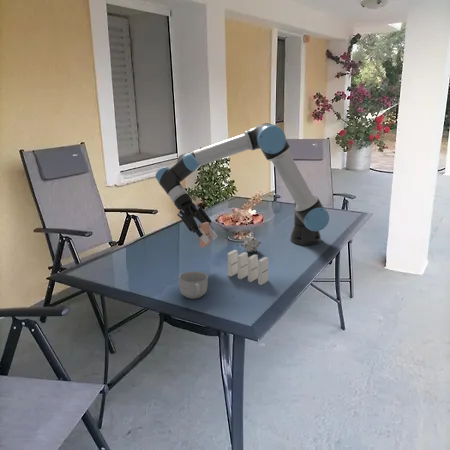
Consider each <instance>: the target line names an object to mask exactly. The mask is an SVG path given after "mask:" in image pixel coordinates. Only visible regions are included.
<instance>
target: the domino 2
mask: <svg viewBox="0 0 450 450" xmlns="http://www.w3.org/2000/svg"><path fill="white" fill-rule="evenodd" d="M238 255H239V252H238V250H237V249H233V250H231V251H229V252H227V275H228V276H229V277H234V275H236V274H237V275H238V265H237V256H238Z"/></svg>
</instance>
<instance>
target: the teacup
mask: <svg viewBox="0 0 450 450" xmlns="http://www.w3.org/2000/svg"><path fill="white" fill-rule="evenodd" d="M208 278H209V276H208V274H207V273H205V272H202V271H195V270H194V271H186V272H183V273H181V274H179V276H178V281H179V291H180V293H181V294H182V295H183V296H184V297H186V298H187V299H191V300H194V299H199V298H202V297H203V296H204V295H206V293H207V290H208V285H209V284H208Z"/></svg>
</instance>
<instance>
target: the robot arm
mask: <svg viewBox="0 0 450 450" xmlns="http://www.w3.org/2000/svg"><path fill="white" fill-rule="evenodd" d="M286 138H287V136H286V134H285V131H284V130H283V129H282V127H280V126H278V125H276V124H272V123H268V122H267V123H266V122H265V123H262V124H259V125H257V126H255V127H251V128H250V129H247V130H244V133H242V134H240V135H239V134H238V135H237V136H233V137H230V138H229V139H228V138H227V139H225V140H222V141H220V142H217V143H214V144H210V145H208V146H205V147H202V148H199V149H196V150H193V151H191V152H187V153H186V152H184V153H182V154H180V155H179V156H178V158H177V162H176V163H175V164H174V165H173V166H171V167H168V166H163V167H162V168H160V169H158V170H157V172H155V179H156V180H157V182H158V184H159V185H160V186H161V188H162V190H163V191H165V193H166V195H167V196H168V197H169V199H170V200H171V201H172V203H173V204H174V206H175V207H176V209H177V210H179V211H178V213H177V214H176V215H177V216H178V217H179V218H180V219H181V220H182V221H183V223H184V225H185V226H186V227H187V228H188V230H189V232H192V233H195V234H196V235H197V236H198V237H200V238H201V239H202V241H203V242H204V243H207V242H208V241H209V239H208V237H207V236H206V235H205V233H204V232H203V231H202V229H201V228H199V224H197V223H198V222H197V221H196V220H195V218H196V219H197V220H198V221H199V222H200V224H202V223H205V222H209V233H210V239H212V240H215V239H217V237H218V234H217V233H216V232H215V230H214V228H213V227H212V226H211V223H212V220H211V218H210V217H209V215H208V214H207V213H206V211H204V209H203V207H202V205H201V204H197V205H196V204H195V203H194V202H193V198H192V197H191V196H190V195H189V193H188V191H187V190H186V189H185V188H184V186H183V185H182V183H181V182H182V181H183V180H185V179H186V178H187V177H188V176H190V175H191V174H193V173H194V172H195V171H196V170H197V169H198V168H200V167H201V166H204V165H206V164H210V163H213V162H216V161H218V160H219V161H220V160H223V159H225V158H228V157H230V156H233V155H236V154H239V153H242V152H245V151H248V150H250V151H255V150H258V149H260V150H261V152H262V154H263V156H264V157H265V160H266V161H270V162H271V163H272V165H273V166H274V168H275V169H276V172H277V173H278V175H279V176H280V179H281V181H282V182H283V183H284V185H285V187H286V189H287V190H288V192H289V194H290V195H291V198H292V200H293V201H294V202H293V204H294V210H293V211H294V212H293V213H294V215H293V216H294V219H293V220H294V224H293V225H294V226H293V228H292V230H291V233H290V242H291V243H292V244H296V245H300V246H311V245H312V246H313V245H314V246H315V245H318V244H320V243H321V240H322V239H321V238H322V237H321V233H320V232H321V231H322V230H324V229H325V228H326V227H327V226H328V225H329V221H330V214H329V212H328V210H327V209H325V208H324V206H323V204H322V202H321V200H320V199H319V197H318V195H313V193H312V191H311V189H310V187H309V186H308V184H307V182H306V180H305V179H304V177H303V175H302V173H301V172H300V169H299V168H298V166H297V164H296V162H295V160H294V159H293V157H292V155H291V153H290V149H291V147H290V145H289V143H288V141H287V139H286Z"/></svg>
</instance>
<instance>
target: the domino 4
mask: <svg viewBox="0 0 450 450" xmlns="http://www.w3.org/2000/svg"><path fill="white" fill-rule="evenodd" d="M258 256H259V255H258V254H253V255H251V256H248V258H247V262H248V275H247V282H250V283H253V281H255V280H258V260H259V257H258Z"/></svg>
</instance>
